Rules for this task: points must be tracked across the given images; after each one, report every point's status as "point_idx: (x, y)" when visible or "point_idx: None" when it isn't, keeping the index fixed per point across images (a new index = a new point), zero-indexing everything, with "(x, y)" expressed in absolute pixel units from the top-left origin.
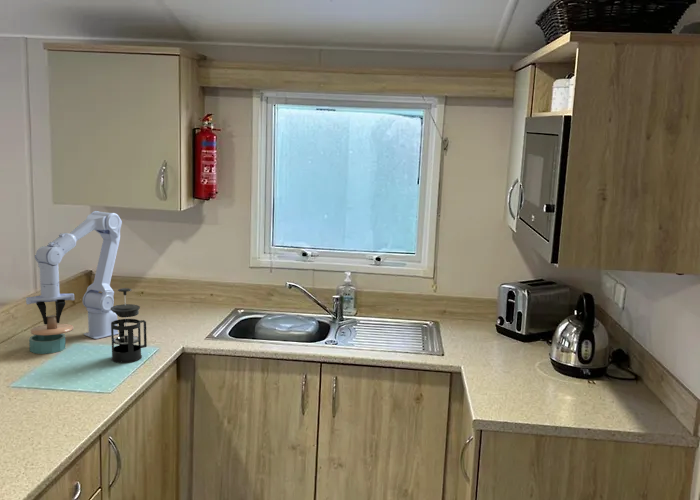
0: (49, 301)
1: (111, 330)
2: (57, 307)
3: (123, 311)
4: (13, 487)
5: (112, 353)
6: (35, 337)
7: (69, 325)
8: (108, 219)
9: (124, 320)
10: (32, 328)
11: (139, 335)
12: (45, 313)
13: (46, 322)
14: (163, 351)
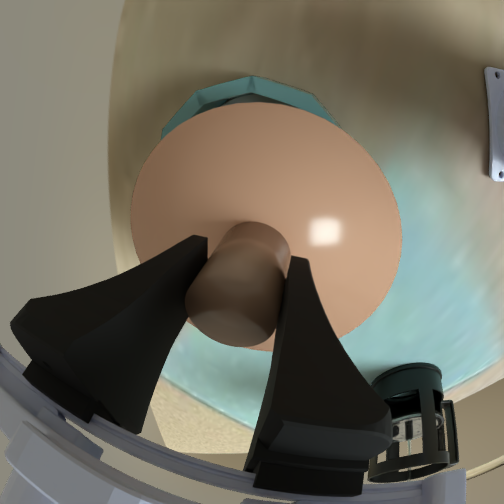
0: (156, 452)
1: (374, 458)
2: (255, 429)
3: None
4: (170, 447)
5: None
6: (197, 113)
7: (385, 255)
8: None
9: (437, 458)
10: (143, 168)
11: (438, 433)
12: (162, 357)
13: None
14: (481, 379)
